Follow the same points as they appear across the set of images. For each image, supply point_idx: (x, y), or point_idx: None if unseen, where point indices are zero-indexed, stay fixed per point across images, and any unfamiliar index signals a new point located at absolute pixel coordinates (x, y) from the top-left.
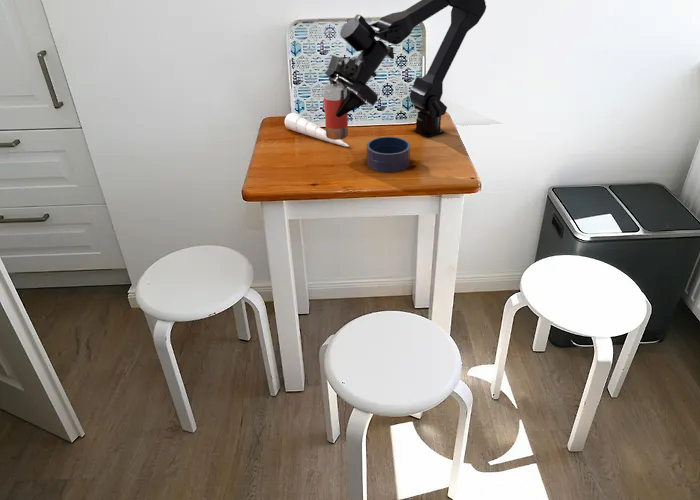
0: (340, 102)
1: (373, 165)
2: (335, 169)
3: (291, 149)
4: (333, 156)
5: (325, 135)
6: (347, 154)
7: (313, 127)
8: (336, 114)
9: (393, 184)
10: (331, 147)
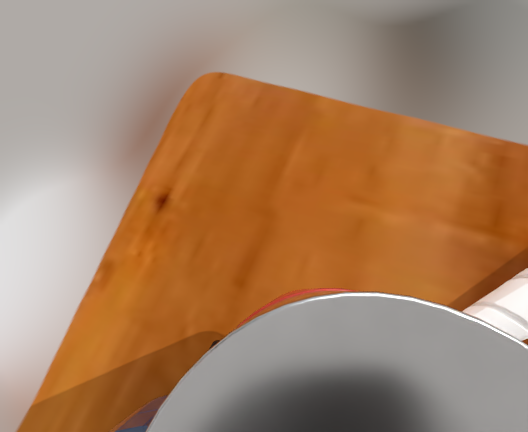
0: None
1: (146, 405)
2: (215, 283)
3: (402, 203)
4: None
5: None
6: None
7: (522, 305)
8: (212, 344)
9: (44, 412)
10: None
